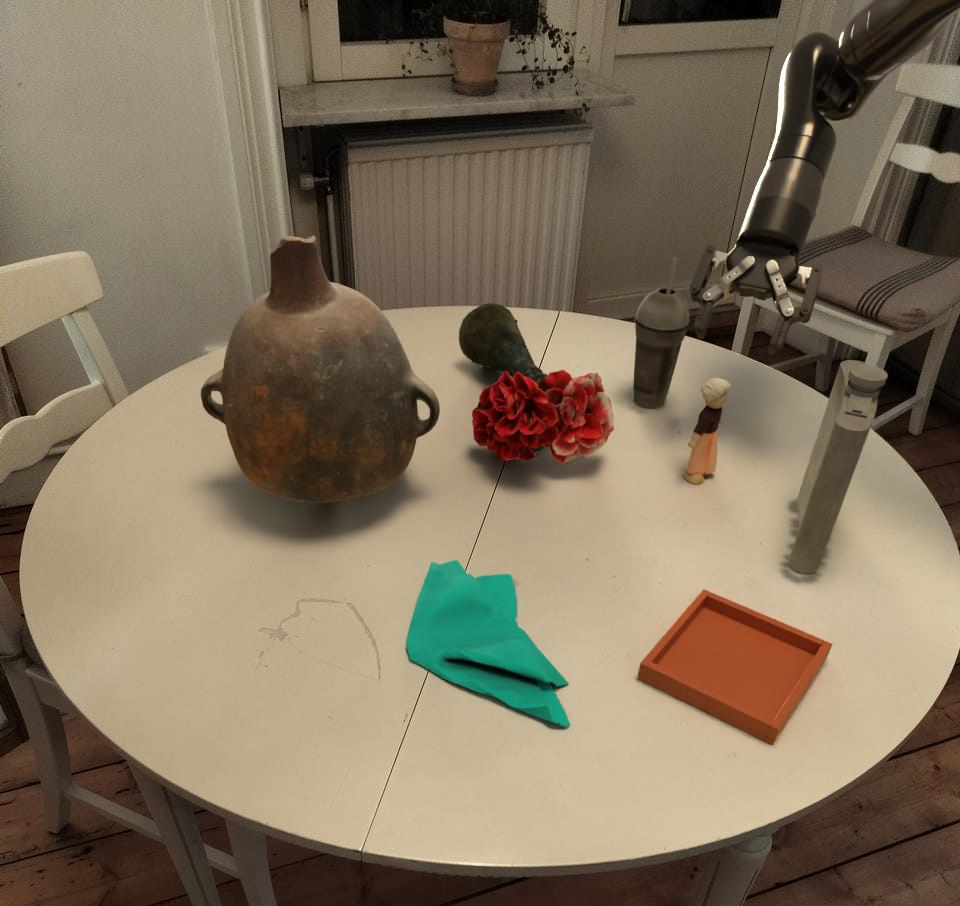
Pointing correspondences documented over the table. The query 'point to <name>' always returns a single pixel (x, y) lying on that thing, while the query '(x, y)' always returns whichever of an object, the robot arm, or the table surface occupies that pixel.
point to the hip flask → (834, 459)
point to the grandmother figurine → (707, 432)
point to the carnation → (530, 395)
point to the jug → (317, 387)
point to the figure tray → (735, 664)
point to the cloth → (482, 641)
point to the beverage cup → (658, 343)
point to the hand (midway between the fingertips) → (735, 343)
